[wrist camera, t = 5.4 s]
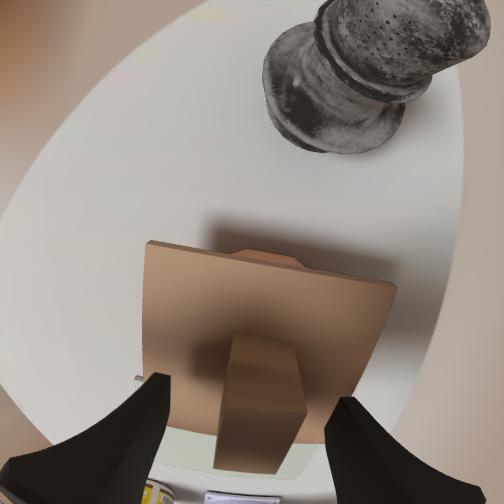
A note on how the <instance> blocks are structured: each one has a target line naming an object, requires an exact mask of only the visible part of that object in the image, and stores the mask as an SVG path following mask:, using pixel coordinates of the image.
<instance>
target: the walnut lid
mask: <svg viewBox="0 0 504 504" xmlns="http://www.w3.org/2000/svg"><path fill="white" fill-rule="evenodd" d="M396 290H397V287H396V286H395V285H394V284H393V283H392V282H386V281H381V280H375V279H369V278H363V277H357V276H351V275H345V274H340V273H334V272H328V271H322V270H316V269H311V268H305V267H299V266H293V265H288V264H282V263H276V262H271V261H265V260H259V259H254V258H248V257H242V256H237V255H231V254H226V253H220V252H214V251H209V250H203V249H198V248H192V247H187V246H181V245H176V244H170V243H165V242H159V241H154V240H150V241H149V242H148V243H146V247H145V261H144V278H143V306H142V352H143V379H144V382H145V381H146V380H147V379H148V378H149V377H150V376H151V375H152V374H153V373H154V372H158V373H162V374H166V375H171V402H170V414H169V418H168V422H167V426H168V427H172V428H176V429H181V430H186V431H190V432H196V433H201V434H206V435H212V436H217V438H216V446H215V455H214V463H213V469H218V470H225V471H234V472H243V473H255V474H272V475H276V473H277V472H278V470H279V468H280V466H281V464H282V463H283V461H284V459H285V457H286V455H287V453H288V451H289V450H290V448H291V446H292V444H324V443H325V436H324V427H325V425H326V423H327V422H328V420H329V418H330V416H331V414H332V412H333V410H334V408H335V407H336V405H337V403H338V401H339V399H340V397H351V396H352V394H353V392H354V390H355V388H356V386H357V384H358V382H359V380H360V378H361V376H362V374H363V372H364V369H365V367H366V365H367V363H368V361H369V359H370V356H371V354H372V352H373V350H374V347H375V345H376V343H377V340H378V338H379V335H380V333H381V331H382V328H383V326H384V323H385V320H386V318H387V315H388V313H389V310H390V307H391V304H392V302H393V299H394V296H395V293H396Z"/></svg>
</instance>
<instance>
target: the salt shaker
mask: <svg viewBox="0 0 504 504" xmlns="http://www.w3.org/2000/svg"><path fill="white" fill-rule="evenodd" d="M490 29H491V23H490V16H489V13H488V9H487V6H486V4H485V2H484V0H327V1H326V2H325V3H324V4H323V5H322V6H321V7H320V8H319V10H318V12H317V14H316V17H315V19H314V21H312V22H308V23H304V24H299V25H296V26H294V27H293V28H291V29H289V30H287V31H286V32H284V33H282V34H281V35H280V36H279V37H278V38H277V39H276V40H275V42H274V43H273V44H272V45H271V46H270V49H269V51H268V53H267V55H266V57H265V59H264V65H263V74H262V81H263V86H264V91H265V96H266V103H267V108H268V114H269V116H270V118H271V120H272V122H273V124H274V126H275V127H276V128H277V130H278V131H279V132H280V133H281V134H282V136H283V137H284V138H286V139H287V140H289V141H290V142H291V143H293V144H294V145H296V146H298V147H301V148H303V149H305V150H308V151H313V152H320V153H326V152H334V153H339V154H353V153H363V152H366V151H368V150H371V149H374V148H376V147H379V146H380V145H382V144H383V143H384V142H385V141H387V140H388V139H389V138H391V137H392V136H393V134H394V133H395V131H396V130H397V128H398V127H399V125H400V124H401V121H402V118H403V114H404V111H405V102H408V101H412V100H415V99H416V98H418V97H419V96H420V95H422V94H423V93H424V92H425V91H426V90H427V88H428V86H429V85H430V83H431V80H432V75H433V74H435V73H437V72H440V71H442V70H444V69H446V68H449V67H451V66H453V65H455V64H458V63H460V62H462V61H465V60H467V59H469V58H472V57H473V56H475V55H476V54H478V53H479V52H480V51H481V50H482V49H483V48H484V47H485V46H486V45H487V42H488V40H489V37H490Z"/></svg>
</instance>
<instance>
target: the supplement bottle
mask: <svg viewBox="0 0 504 504" xmlns="http://www.w3.org/2000/svg"><path fill="white" fill-rule="evenodd" d="M173 503H174V494H173V492H172V491H171V490H170V489H169V488H167V487H166V486H164V485H162V484H159V483H157V482H154V481H151V480H147V481H146V485H145V489H144V493H143V498H142V502H141V504H173Z"/></svg>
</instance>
